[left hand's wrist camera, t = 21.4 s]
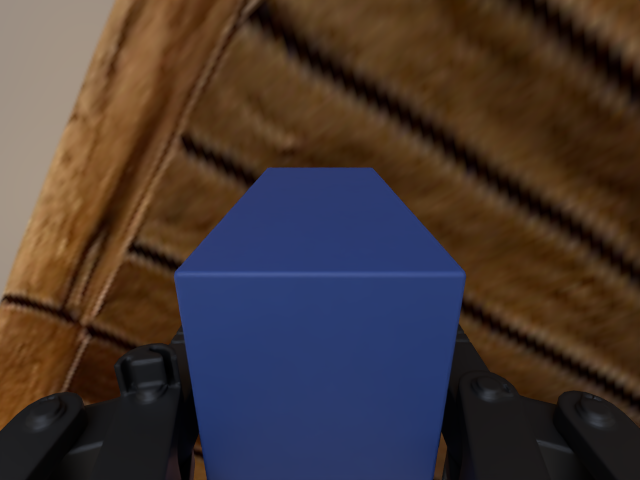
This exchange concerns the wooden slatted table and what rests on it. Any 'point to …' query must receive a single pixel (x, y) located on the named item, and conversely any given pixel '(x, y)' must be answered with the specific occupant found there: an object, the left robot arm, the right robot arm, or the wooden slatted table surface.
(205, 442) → the brick
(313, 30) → the wooden slatted table surface
